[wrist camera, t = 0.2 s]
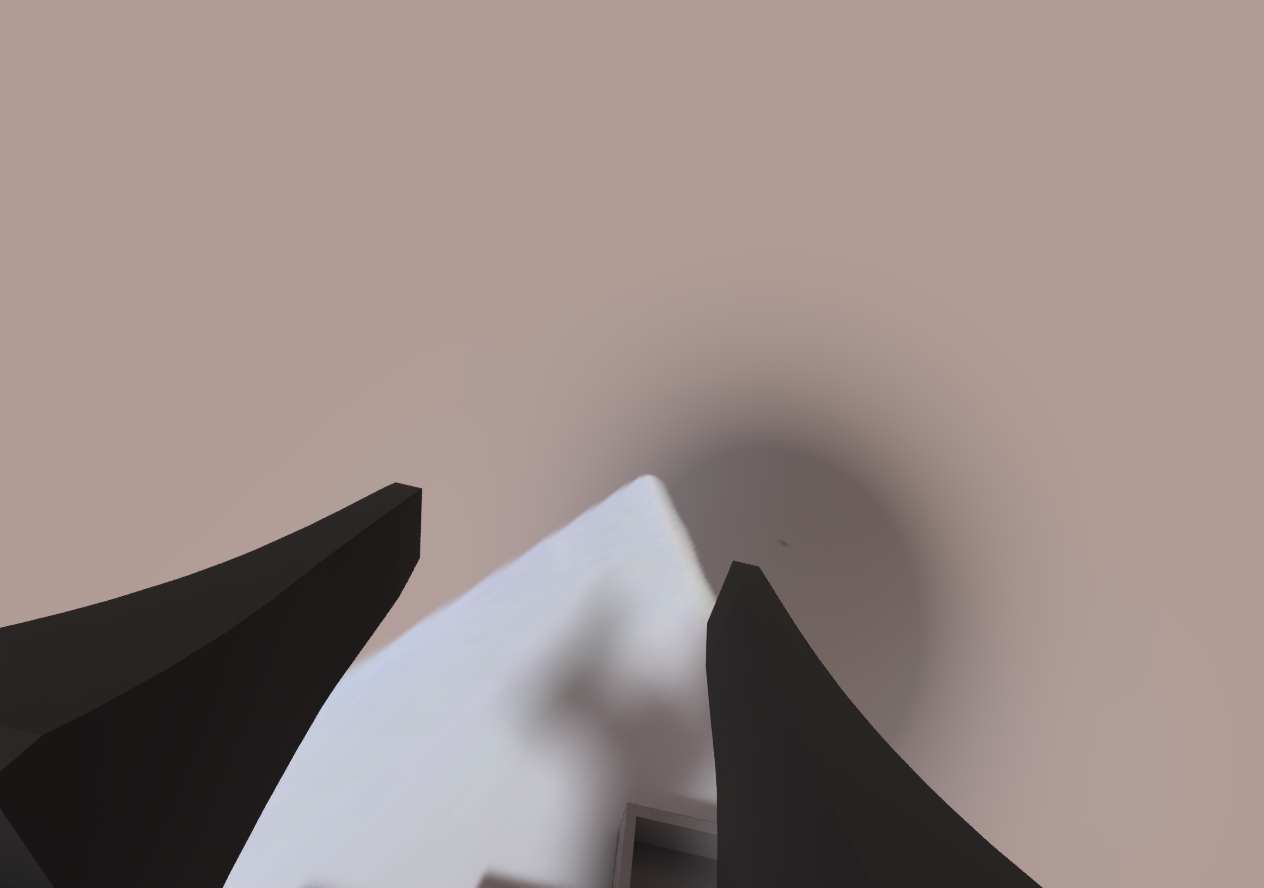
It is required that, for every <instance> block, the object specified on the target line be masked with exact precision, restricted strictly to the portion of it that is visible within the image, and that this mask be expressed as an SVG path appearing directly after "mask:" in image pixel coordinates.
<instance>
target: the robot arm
mask: <svg viewBox="0 0 1264 888" xmlns="http://www.w3.org/2000/svg"><path fill="white" fill-rule="evenodd" d="M421 505H422V488H418V487H413V486H409V485H405V484H400V483H393V484H391V485H389V486H386V487H384V488H382V489H380V490H378V491H376V492H375V493H373V494H371V495H369V496H367V497H365V498H363V499H361V500H359V501H357V502H355V503H353V504H351V505H349V506H347V507H345V508H343V509H341V510H340V511H337V512H335V513H333V514H331V515H329V516H327V517H325V518H323V519H321V520H319V521H317V522H315V523H313V524H311V525H309V526H307V527H305V528H303V529H300V530H299V531H296V532H294V533H292V534H289V535H287V536H285V537H283V538H281V539H278V540H276V541H274V542H272V543H269V544H267V545H265V546H263V547H261V548H258V549H256V550H254V551H251V552H249V553H246V554H244V555H241V556H239V557H236V558H234V559H231V560H229V561H226V562H223V563H221V564H218V565H216V566H213V567H210V568H207V569H204V570H202V571H199V572H197V573H193V574H191V575H188V576H185V577H182V578H179V579H176V580H173V581H169V582H166V583H163V584H160V585H157V586H153V587H150V588H147V589H144V590H141V591H138V592H134V593H131V594H128V595H124V596H121V597H118V598H115V599H111V600H108V601H105V602H101V603H97V604H93V605H90V606H86V607H83V608H79V609H75V610H71V611H67V612H64V613H60V614H56V615H52V616H48V617H44V618H39V619H35V620H31V621H27V622H23V623H19V624H15V625H10V626H6V627H2V628H0V888H223V886H224V884H225V882H226V880H227V878H228V876H229V874H230V872H231V870H232V868H233V866H234V864H235V863H236V861H237V859H238V857H239V855H240V853H241V851H242V849H243V848H244V846H245V844H246V842H247V840H248V838H249V836H250V834H251V832H252V831H253V829H254V827H255V825H256V823H257V821H258V819H259V817H260V815H261V814H262V812H263V810H264V808H265V806H266V804H267V802H268V801H269V799H270V797H271V795H272V794H273V792H274V790H275V788H276V786H277V785H278V783H279V781H280V779H281V777H282V776H283V774H284V772H285V770H286V768H287V767H288V765H289V763H290V761H291V759H292V758H293V756H294V754H295V752H296V751H297V749H298V747H299V745H300V744H301V742H302V740H303V739H304V737H305V735H306V733H307V732H308V730H309V728H310V727H311V725H312V723H313V721H314V720H315V718H316V716H317V715H318V713H319V711H320V709H321V708H322V706H323V705H324V703H325V702H326V700H327V699H328V697H329V695H330V694H331V692H332V691H333V689H334V688H335V686H336V685H337V683H338V682H339V681H340V679H341V678H342V677H343V675H344V674H345V672H346V671H347V670H348V668H349V667H350V665H351V664H352V663H353V661H354V660H355V658H356V657H357V655H358V654H359V653H360V651H361V650H362V648H363V647H364V646H365V644H366V643H367V642H368V640H369V639H370V637H371V636H372V635H373V633H374V632H375V630H376V629H377V628H378V626H379V625H380V623H381V622H382V621H383V619H384V618H385V616H386V615H387V613H388V612H389V611H390V609H391V608H392V606H393V605H394V603H395V602H396V601H397V599H398V598H399V596H400V594H401V592H402V590H403V589H404V587H405V585H406V583H407V582H408V580H409V577H410V576H411V574H412V572H413V570H414V568H415V566H416V564H417V562H418V560H419V559H420V537H421ZM706 673H707V685H708V696H709V706H710V716H711V727H712V737H713V747H714V757H715V768H716V785H717V888H1042V887H1041V886H1040V885H1039V884H1037V883H1036V882H1035V881H1034V880H1033V879H1031V878H1030V877H1029V876H1028V875H1027V874H1026V873H1024V872H1023V871H1022V870H1021V869H1020V868H1018V867H1017V866H1016V865H1015V864H1014V863H1013V862H1011V861H1010V860H1009V859H1008V858H1007V857H1005V856H1004V855H1003V854H1002V853H1001V852H999V851H998V850H997V849H996V848H995V847H993V846H992V845H991V844H990V843H989V842H988V841H987V840H986V839H984V838H983V837H982V836H981V835H980V834H979V833H978V832H977V831H976V830H975V829H973V827H971V826H970V825H969V824H968V823H967V822H966V821H965V820H964V819H963V818H962V817H961V816H960V815H958V814H957V813H956V812H955V811H954V810H953V809H952V808H951V807H950V806H949V805H947V803H946V802H945V801H944V800H943V799H941V798H940V797H939V796H938V795H937V794H936V793H935V792H934V791H933V790H932V789H931V788H930V787H929V786H928V785H927V784H926V783H925V782H924V781H923V780H922V779H921V778H920V777H919V776H918V775H917V774H916V773H915V772H914V771H913V770H912V768H910V767H909V765H908V764H907V763H906V762H905V761H904V760H903V759H902V758H901V757H900V756H899V755H898V754H897V753H896V752H895V751H894V750H893V749H892V748H891V747H890V745H889V744H888V743H887V742H886V741H885V740H884V739H883V738H882V737H881V736H880V734H879V733H878V732H877V731H876V730H875V729H874V728H873V726H872V725H871V724H870V723H869V722H868V720H867V719H866V718H865V717H864V716H863V715H862V714H861V712H860V711H859V710H858V709H857V708H856V706H855V705H854V704H853V703H852V702H851V700H850V699H849V698H848V697H847V695H846V694H845V693H844V692H843V691H842V689H841V688H840V687H839V685H838V684H837V683H836V681H835V680H834V679H833V677H832V676H831V675H830V673H829V672H828V671H827V669H826V668H825V666H824V665H823V664H822V662H821V661H820V660H819V658H818V657H817V656H816V654H815V653H814V651H813V650H812V649H811V647H810V645H809V644H808V643H807V641H806V640H805V638H804V637H803V635H802V634H801V632H800V631H799V629H798V628H797V626H796V625H795V623H794V622H793V620H792V618H791V617H790V616H789V614H788V612H787V611H786V609H785V607H784V606H783V604H782V603H781V601H780V600H779V598H778V596H777V595H776V593H775V591H774V590H773V588H772V587H771V585H770V583H769V582H768V580H767V579H766V577H765V576H764V574H763V572H762V571H761V569H760V568H759V567H758V566H754V565H750V564H745V563H741V562H736V561H733V562H732V564H731V567H730V569H729V572H728V574H727V576H726V579H725V582H724V584H723V586H722V589H721V591H720V594H719V596H718V598H717V601H716V603H715V606H714V608H713V610H712V613H711V615H710V618H709V620H708V623H707V640H706Z"/></svg>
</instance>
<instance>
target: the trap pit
mask: <svg viewBox="0 0 1264 888" xmlns="http://www.w3.org/2000/svg"><path fill="white" fill-rule="evenodd" d="M612 888H717V823H713V822H709V821H704V820H700V819H696V818H691V817H687V816H683V815H678V814H674V813H670V812H665V811H661V810H657V809H652V808H648V807H644V806H639V805H635V804H631V803H627V806H626V809H625V812H624V815H623V818H622V821H621V824H620V827H619V831H618V839H617V848H616V856H615V865H614V873H613V882H612Z"/></svg>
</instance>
